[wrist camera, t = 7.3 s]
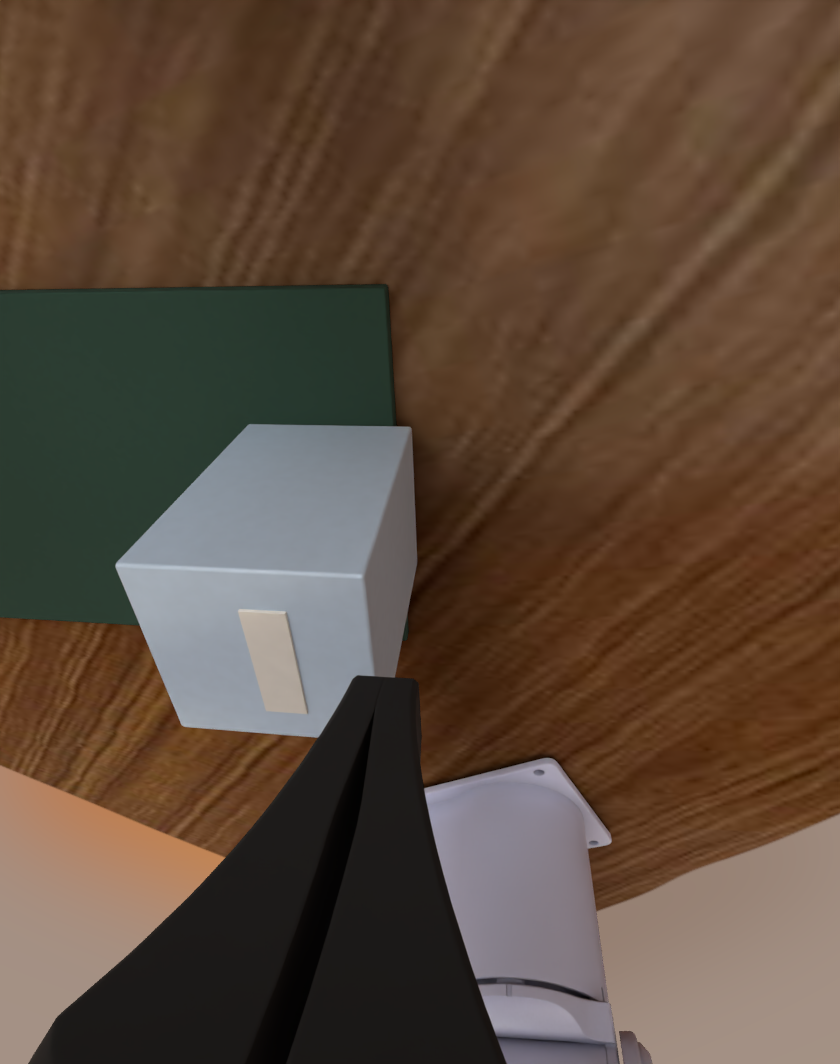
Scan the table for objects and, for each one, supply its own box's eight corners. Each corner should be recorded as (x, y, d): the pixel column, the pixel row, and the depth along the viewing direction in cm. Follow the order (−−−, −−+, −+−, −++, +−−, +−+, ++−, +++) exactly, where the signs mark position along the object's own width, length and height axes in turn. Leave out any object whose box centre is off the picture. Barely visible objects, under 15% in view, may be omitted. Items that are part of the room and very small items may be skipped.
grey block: (363, 578, 11) (109, 566, 12) (382, 746, 14) (179, 730, 15) (412, 425, 18) (248, 423, 19) (417, 563, 21) (276, 556, 22)
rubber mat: (388, 283, 16) (384, 287, 16) (408, 631, 24) (407, 641, 23) (-199, 292, 18) (-218, 296, 18) (-8, 608, 26) (-17, 617, 26)
